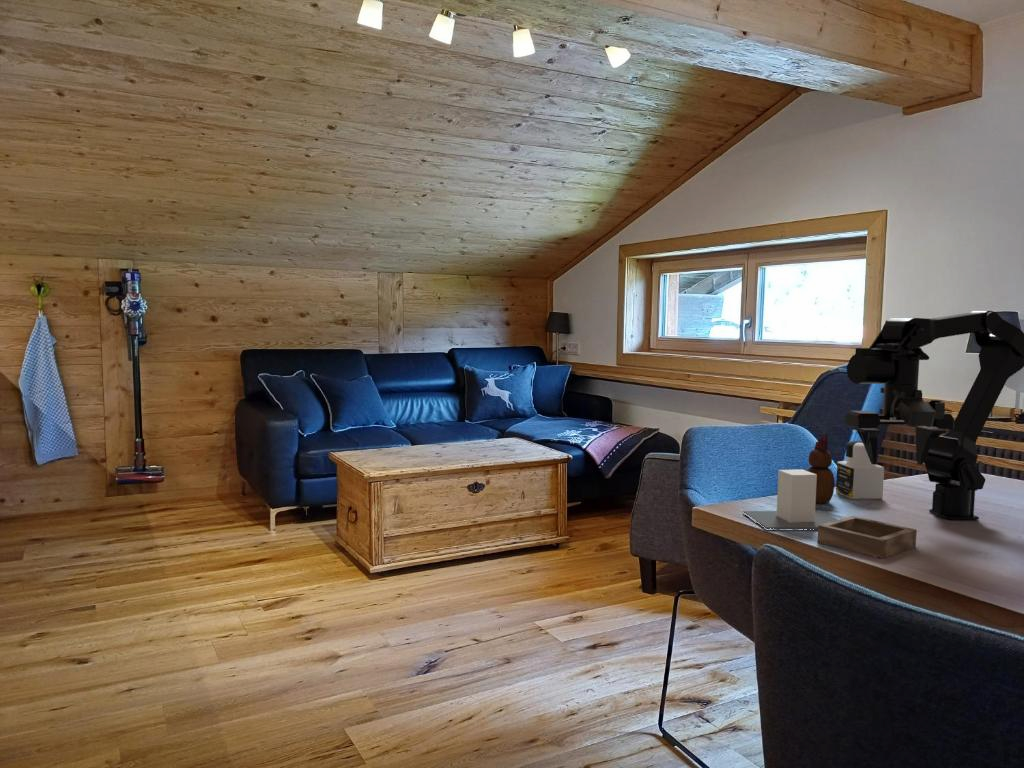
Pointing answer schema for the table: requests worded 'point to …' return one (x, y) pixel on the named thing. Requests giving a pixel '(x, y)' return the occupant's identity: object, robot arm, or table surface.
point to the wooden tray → (867, 536)
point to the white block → (796, 495)
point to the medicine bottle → (859, 474)
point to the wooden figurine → (822, 471)
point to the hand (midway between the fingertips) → (896, 464)
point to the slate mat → (773, 521)
